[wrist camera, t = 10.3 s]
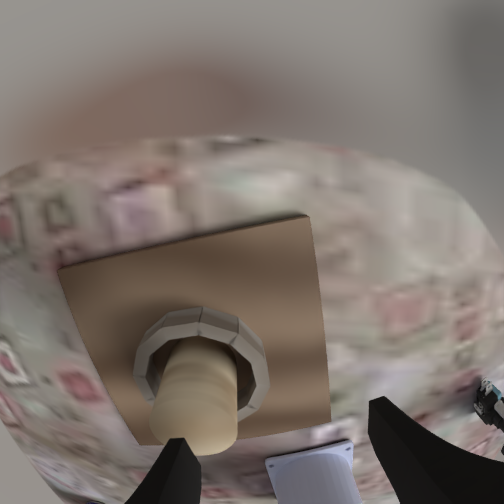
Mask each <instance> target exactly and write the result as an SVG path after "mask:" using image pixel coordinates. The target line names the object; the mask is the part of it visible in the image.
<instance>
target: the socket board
mask: <svg viewBox="0 0 504 504" xmlns="http://www.w3.org/2000/svg"><path fill="white" fill-rule="evenodd" d="M57 273H58V276H59V279H60V282H61V285H62V288H63V291H64V294H65V296H66V299H67V302H68V305H69V307H70V310H71V312H72V315H73V318H74V320H75V323H76V325H77V327H78V330H79V332H80V335H81V337H82V339H83V341H84V344H85V346H86V348H87V350H88V353H89V355H90V357H91V359H92V361H93V363H94V365H95V367H96V369H97V371H98V373H99V375H100V377H101V379H102V381H103V383H104V385H105V387H106V389H107V391H108V393H109V395H110V396H111V398H112V400H113V402H114V404H115V405H116V407H117V409H118V411H119V412H120V414H121V416H122V417H123V419H124V421H125V422H126V424H127V426H128V427H129V429H130V431H131V432H132V434H133V435H134V437H135V438H136V440H137V442H138V443H139V445H164V444H163V443H161V442H160V441H159V440H158V439H157V438H156V437H155V436H154V434H153V433H152V431H151V429H150V426H149V418H150V414H151V411H152V408H153V405H154V401H155V398H156V395H157V392H158V389H159V386H160V383H161V380H162V377H163V373H164V370H165V367H166V364H167V361H168V358H169V355H170V352H171V350H172V348H173V347H174V345H175V344H176V343H177V342H178V341H180V340H181V339H183V338H186V337H191V336H197V335H200V336H203V337H207V338H210V339H214V340H217V341H221V342H224V343H225V344H227V345H228V346H229V347H230V348H231V350H232V351H233V353H234V354H235V357H236V361H237V431H238V434H237V438H236V440H239V439H246V438H253V437H260V436H266V435H272V434H277V433H283V432H288V431H293V430H298V429H302V428H307V427H311V426H315V425H320V424H324V423H328V422H331V407H330V392H329V378H328V365H327V354H326V343H325V332H324V323H323V313H322V305H321V296H320V288H319V280H318V272H317V264H316V257H315V250H314V243H313V236H312V229H311V223H310V217H309V216H307V215H303V216H298V217H293V218H287V219H282V220H277V221H272V222H267V223H262V224H257V225H251V226H246V227H241V228H237V229H232V230H227V231H222V232H217V233H212V234H207V235H202V236H198V237H193V238H188V239H184V240H179V241H174V242H170V243H165V244H160V245H156V246H151V247H147V248H142V249H138V250H133V251H129V252H124V253H120V254H116V255H111V256H107V257H103V258H98V259H94V260H90V261H86V262H81V263H77V264H73V265H69V266H65V267H62V268H60V269H59V270H57Z"/></svg>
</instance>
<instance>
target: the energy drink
mask: <svg viewBox="0 0 504 504" xmlns="http://www.w3.org/2000/svg"><path fill="white" fill-rule="evenodd" d="M86 504H103V503H100V502H96V501H90V502H87V503H86Z"/></svg>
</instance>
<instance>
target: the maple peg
mask: <svg viewBox="0 0 504 504" xmlns="http://www.w3.org/2000/svg"><path fill="white" fill-rule="evenodd" d="M149 426H150V429H151V431H152V433H153V434H154V436H155V437H156V438H157V439H158V440H159V441H160V442H161V443H163V444H164V445H166V444H167V442H168V440H169V439H170V438H183V437H184V438H185V440H186V441H187V443H188V445H189V447H190V448H191V450H192V452H193V453H194V455H200V456H201V455H212V454H216V453H220V452H222V451H224V450H226V449H228V448H229V447H230V446H231V445H232V444H233V443H234V442H235V440H236V438H237V434H238V431H237V361H236V357H235V354H234V353H233V351H232V350H231V348H230V347H229V346H228V345H227V344H225V343H224V342H221V341H217V340H214V339H210V338H207V337H203V336H200V335H197V336H191V337H186V338H183V339H181V340H180V341H178V342H177V343H176V344H175V345H174V347H173V348H172V350H171V352H170V355H169V358H168V361H167V364H166V367H165V370H164V373H163V377H162V380H161V383H160V386H159V389H158V392H157V395H156V398H155V401H154V405H153V408H152V411H151V414H150V418H149Z"/></svg>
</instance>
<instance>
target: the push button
mask: <svg viewBox="0 0 504 504" xmlns="http://www.w3.org/2000/svg"><path fill="white" fill-rule="evenodd" d="M485 380H486V381H485ZM484 381H485V383H483V382H484ZM481 385H482V387H481V388H479V389H478V390H477V399H478V406H477V405H476V403H474V407H475V409H476V413H477V415H478V416H479V417H480V418H481V419H482V420H483V422H484V423H485V424H486V425H487V424H489V425H492V424H494V425H495V426H496V427H497V429H499V428H500V429H501V430H502V431H503V432H504V397H501V395H502V394H501V392H500V391H499V390H498V389H497V388H496V387H495V386H494V385H493V384H492V382H490V381H488V382H487V377H486V378H485V379H483V380H482V381H481ZM476 407H477V408H476ZM501 452H502V454H503V455H504V446H503V448H502V450H501Z"/></svg>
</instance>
